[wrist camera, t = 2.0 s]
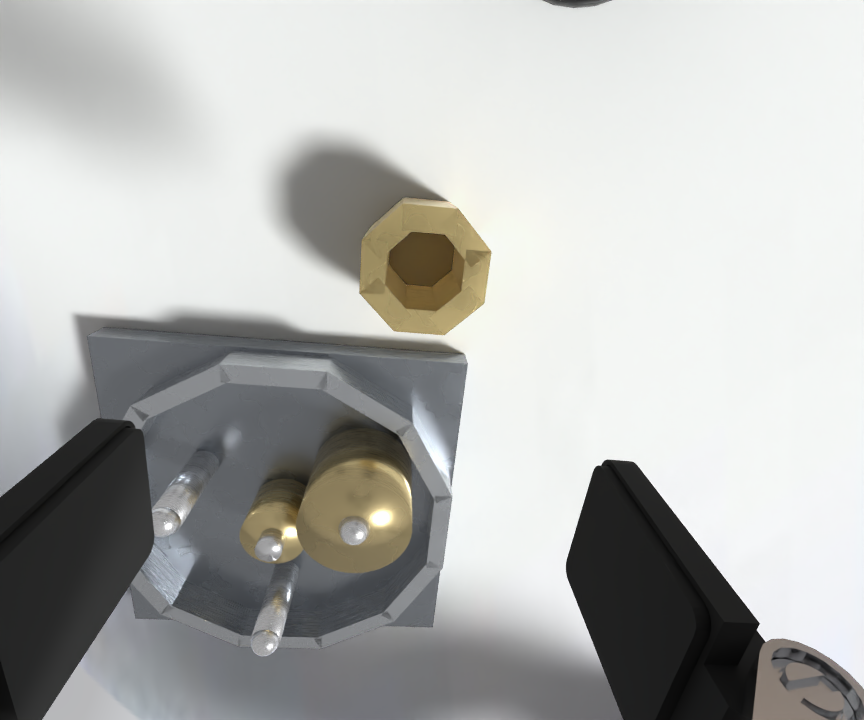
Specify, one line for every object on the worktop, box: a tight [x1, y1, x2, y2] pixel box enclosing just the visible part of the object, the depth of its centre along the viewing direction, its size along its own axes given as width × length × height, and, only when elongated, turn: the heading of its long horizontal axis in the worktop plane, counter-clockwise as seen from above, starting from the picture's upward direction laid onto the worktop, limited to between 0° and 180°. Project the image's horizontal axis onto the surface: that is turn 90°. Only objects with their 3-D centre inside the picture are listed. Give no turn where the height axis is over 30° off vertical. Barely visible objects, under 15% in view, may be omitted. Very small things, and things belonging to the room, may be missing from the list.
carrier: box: [87, 327, 468, 656], centre depth 27 cm, size 20×20×7 cm
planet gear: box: [359, 197, 491, 335], centre depth 23 cm, size 6×6×5 cm
